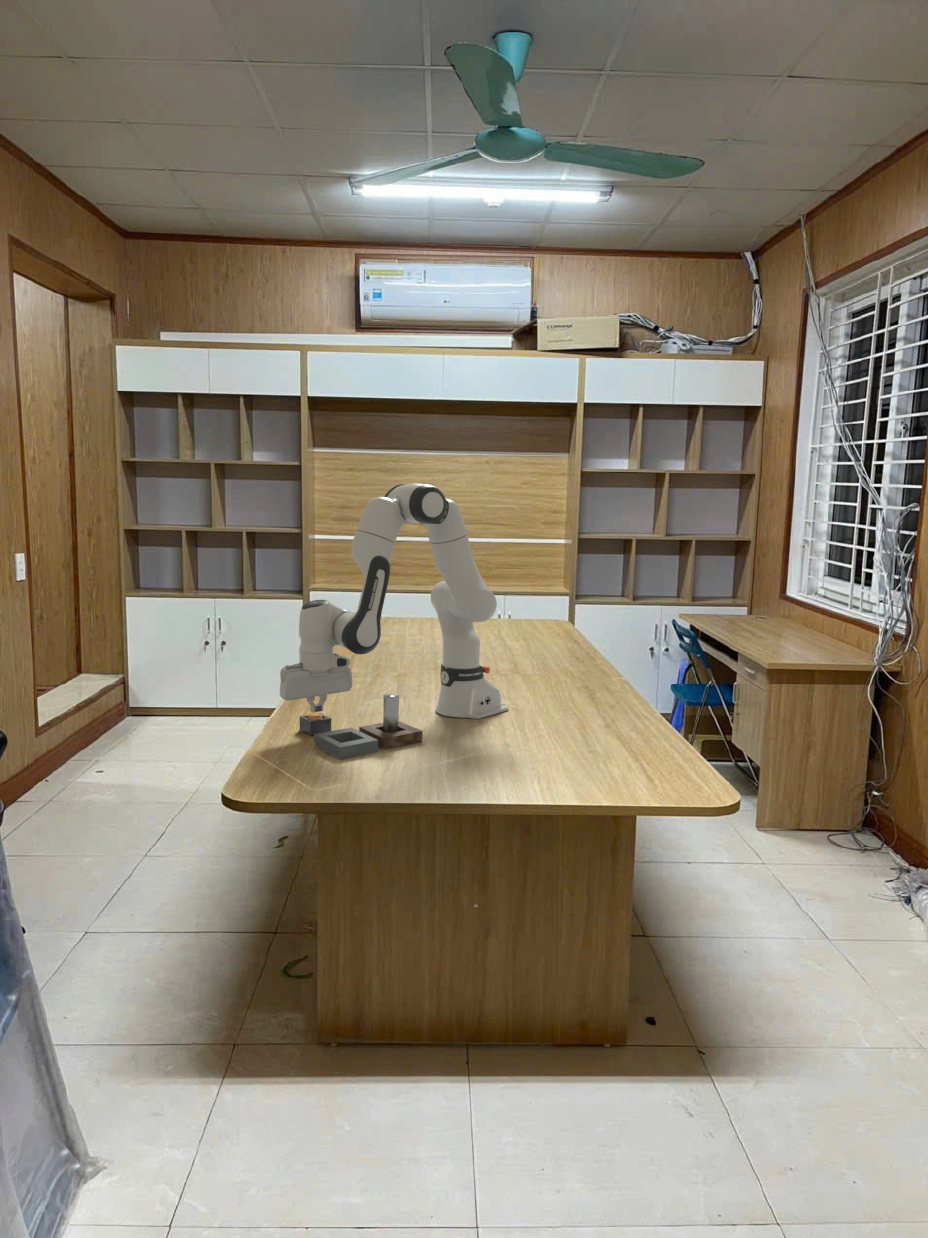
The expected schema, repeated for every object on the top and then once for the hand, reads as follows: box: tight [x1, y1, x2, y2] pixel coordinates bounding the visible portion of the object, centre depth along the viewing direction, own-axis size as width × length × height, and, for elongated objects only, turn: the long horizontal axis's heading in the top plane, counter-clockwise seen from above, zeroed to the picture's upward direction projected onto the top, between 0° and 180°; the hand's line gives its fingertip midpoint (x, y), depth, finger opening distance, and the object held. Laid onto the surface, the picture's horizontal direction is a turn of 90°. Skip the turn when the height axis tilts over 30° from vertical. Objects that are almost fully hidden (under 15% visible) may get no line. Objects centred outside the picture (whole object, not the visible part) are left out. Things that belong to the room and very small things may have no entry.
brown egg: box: [308, 713, 322, 720], centre depth 227 cm, size 4×4×4 cm
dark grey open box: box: [299, 712, 332, 737], centre depth 228 cm, size 6×6×4 cm
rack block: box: [313, 727, 379, 760], centre depth 214 cm, size 11×13×3 cm
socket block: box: [358, 720, 424, 750], centre depth 222 cm, size 12×12×3 cm
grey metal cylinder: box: [382, 693, 400, 733], centre depth 222 cm, size 4×4×12 cm
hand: (316, 711), depth 227 cm, fingers closed
